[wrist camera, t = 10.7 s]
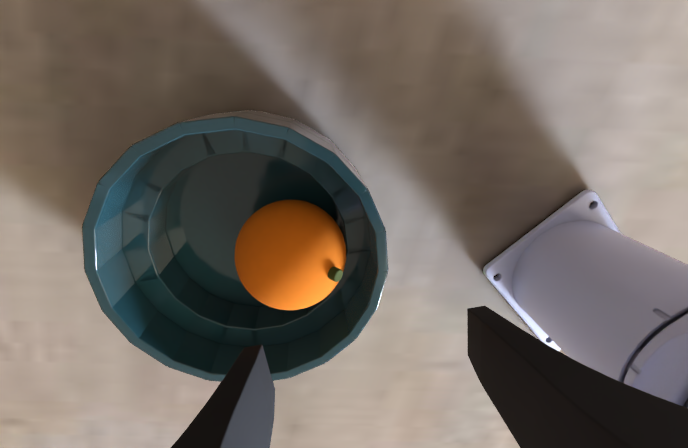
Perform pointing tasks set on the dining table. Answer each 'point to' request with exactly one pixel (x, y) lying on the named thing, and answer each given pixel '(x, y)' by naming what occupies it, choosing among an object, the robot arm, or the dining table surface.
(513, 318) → the dining table surface
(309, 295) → the mandarin
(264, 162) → the bowl
